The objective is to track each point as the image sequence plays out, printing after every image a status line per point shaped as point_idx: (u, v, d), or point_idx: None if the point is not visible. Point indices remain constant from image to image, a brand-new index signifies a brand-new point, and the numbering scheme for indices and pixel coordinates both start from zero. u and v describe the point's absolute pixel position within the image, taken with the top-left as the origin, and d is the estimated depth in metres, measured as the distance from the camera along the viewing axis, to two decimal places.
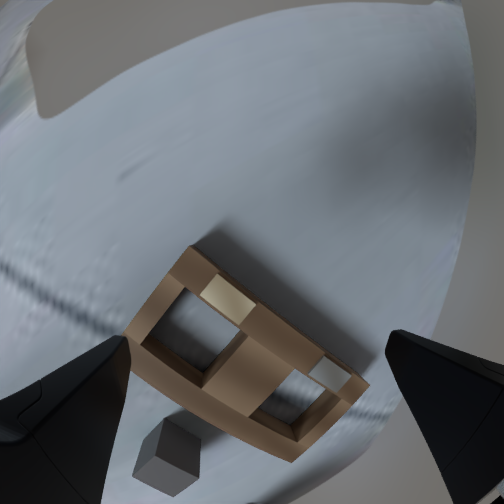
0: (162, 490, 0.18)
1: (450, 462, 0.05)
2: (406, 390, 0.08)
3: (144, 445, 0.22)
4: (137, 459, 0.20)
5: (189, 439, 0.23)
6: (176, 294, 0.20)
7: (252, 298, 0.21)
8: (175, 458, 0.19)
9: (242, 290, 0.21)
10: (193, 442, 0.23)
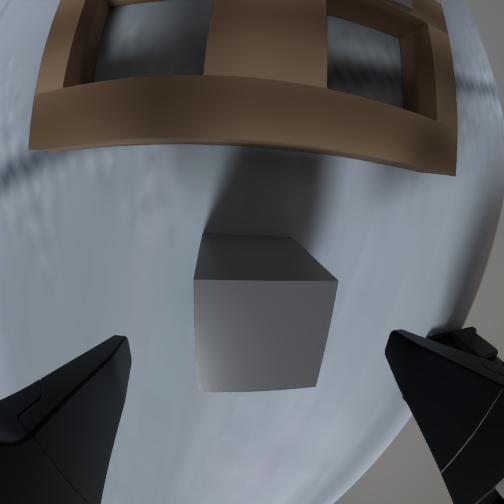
0: (282, 384, 0.10)
1: (450, 462, 0.05)
2: (406, 390, 0.08)
3: None
4: None
5: (269, 241, 0.13)
6: None
7: None
8: (254, 268, 0.09)
9: None
10: (280, 242, 0.13)
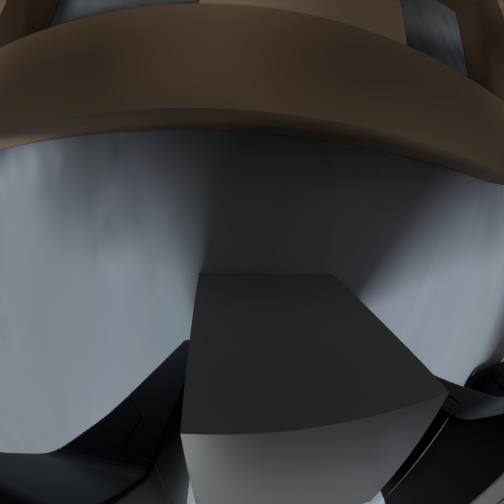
0: None
1: (393, 489, 0.05)
2: None
3: None
4: None
5: (306, 288, 0.08)
6: None
7: None
8: (303, 380, 0.04)
9: None
10: (323, 290, 0.08)
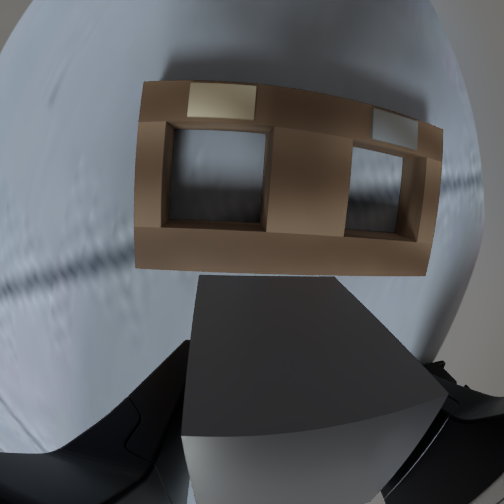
0: None
1: (392, 489, 0.05)
2: None
3: None
4: None
5: (306, 290, 0.08)
6: (162, 135, 0.14)
7: (248, 84, 0.14)
8: (303, 382, 0.04)
9: (231, 83, 0.14)
10: (323, 291, 0.08)
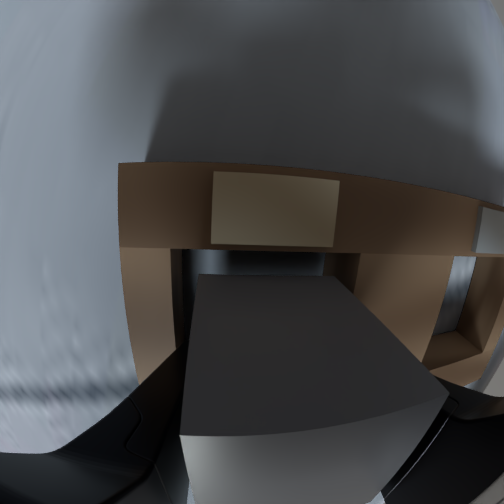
0: None
1: (393, 489, 0.05)
2: None
3: None
4: None
5: (306, 289, 0.08)
6: (166, 276, 0.08)
7: (322, 173, 0.08)
8: (303, 381, 0.04)
9: (291, 170, 0.08)
10: (323, 291, 0.08)
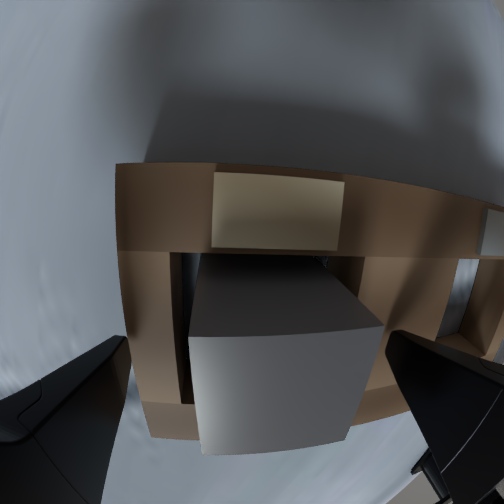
0: (306, 443, 0.07)
1: (450, 462, 0.05)
2: (406, 390, 0.08)
3: None
4: None
5: (284, 261, 0.10)
6: (165, 280, 0.08)
7: (326, 174, 0.08)
8: (272, 311, 0.07)
9: (295, 171, 0.08)
10: (298, 262, 0.10)
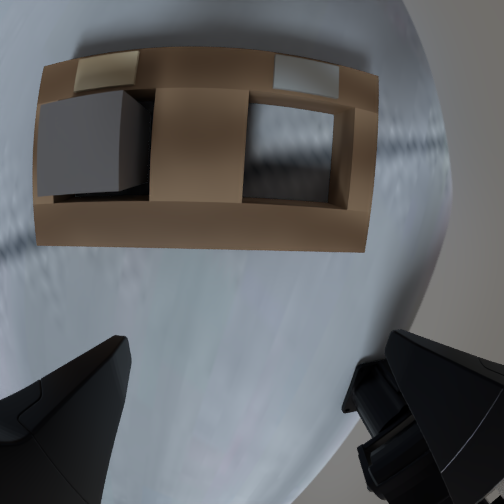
0: (90, 185, 0.11)
1: (450, 462, 0.05)
2: (406, 390, 0.08)
3: None
4: None
5: None
6: None
7: (132, 51, 0.11)
8: None
9: (116, 53, 0.11)
10: None
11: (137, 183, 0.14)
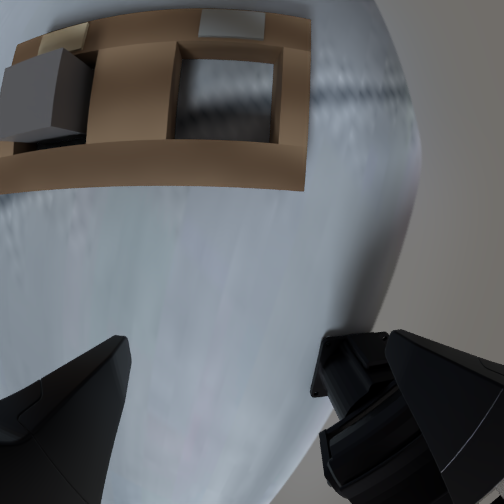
0: (31, 125, 0.10)
1: (450, 462, 0.05)
2: (406, 390, 0.08)
3: None
4: None
5: None
6: None
7: None
8: None
9: (72, 26, 0.11)
10: None
11: (78, 130, 0.13)
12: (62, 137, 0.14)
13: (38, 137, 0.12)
